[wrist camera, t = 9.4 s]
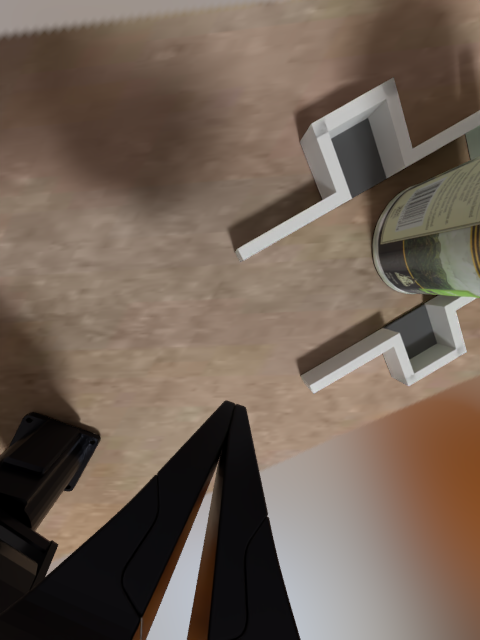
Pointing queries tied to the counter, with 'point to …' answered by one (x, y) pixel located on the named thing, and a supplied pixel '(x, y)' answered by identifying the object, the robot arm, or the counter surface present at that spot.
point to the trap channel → (351, 180)
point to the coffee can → (433, 236)
